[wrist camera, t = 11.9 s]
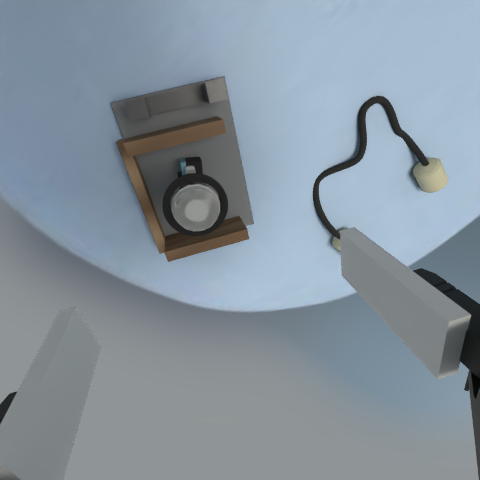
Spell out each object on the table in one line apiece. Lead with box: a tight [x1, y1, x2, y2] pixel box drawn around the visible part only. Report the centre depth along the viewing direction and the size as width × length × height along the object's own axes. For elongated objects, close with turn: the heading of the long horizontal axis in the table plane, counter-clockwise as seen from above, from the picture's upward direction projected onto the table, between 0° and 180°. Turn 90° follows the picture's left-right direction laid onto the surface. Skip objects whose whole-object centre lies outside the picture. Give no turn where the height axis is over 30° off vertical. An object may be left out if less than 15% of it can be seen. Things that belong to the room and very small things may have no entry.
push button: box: [162, 157, 228, 236], centre depth 28 cm, size 7×5×10 cm
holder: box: [116, 116, 249, 262], centre depth 31 cm, size 12×10×4 cm
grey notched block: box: [124, 78, 228, 122], centre depth 26 cm, size 2×8×4 cm, turn 103°
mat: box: [111, 76, 254, 236], centre depth 32 cm, size 16×11×1 cm
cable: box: [313, 96, 448, 252], centre depth 36 cm, size 16×16×4 cm
